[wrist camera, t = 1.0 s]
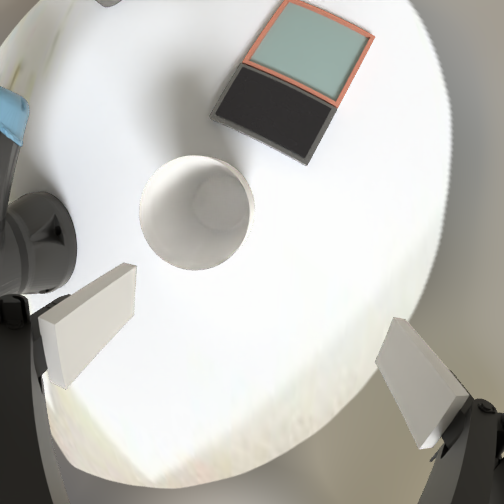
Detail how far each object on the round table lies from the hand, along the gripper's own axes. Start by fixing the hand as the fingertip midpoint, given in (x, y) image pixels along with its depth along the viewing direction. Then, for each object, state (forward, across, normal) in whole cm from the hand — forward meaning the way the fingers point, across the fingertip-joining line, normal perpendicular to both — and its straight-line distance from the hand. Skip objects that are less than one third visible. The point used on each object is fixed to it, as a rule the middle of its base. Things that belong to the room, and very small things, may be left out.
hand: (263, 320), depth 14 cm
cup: (+21, -6, +3) cm, 22 cm away
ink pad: (+20, -2, +14) cm, 25 cm away
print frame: (+20, +1, +24) cm, 31 cm away
